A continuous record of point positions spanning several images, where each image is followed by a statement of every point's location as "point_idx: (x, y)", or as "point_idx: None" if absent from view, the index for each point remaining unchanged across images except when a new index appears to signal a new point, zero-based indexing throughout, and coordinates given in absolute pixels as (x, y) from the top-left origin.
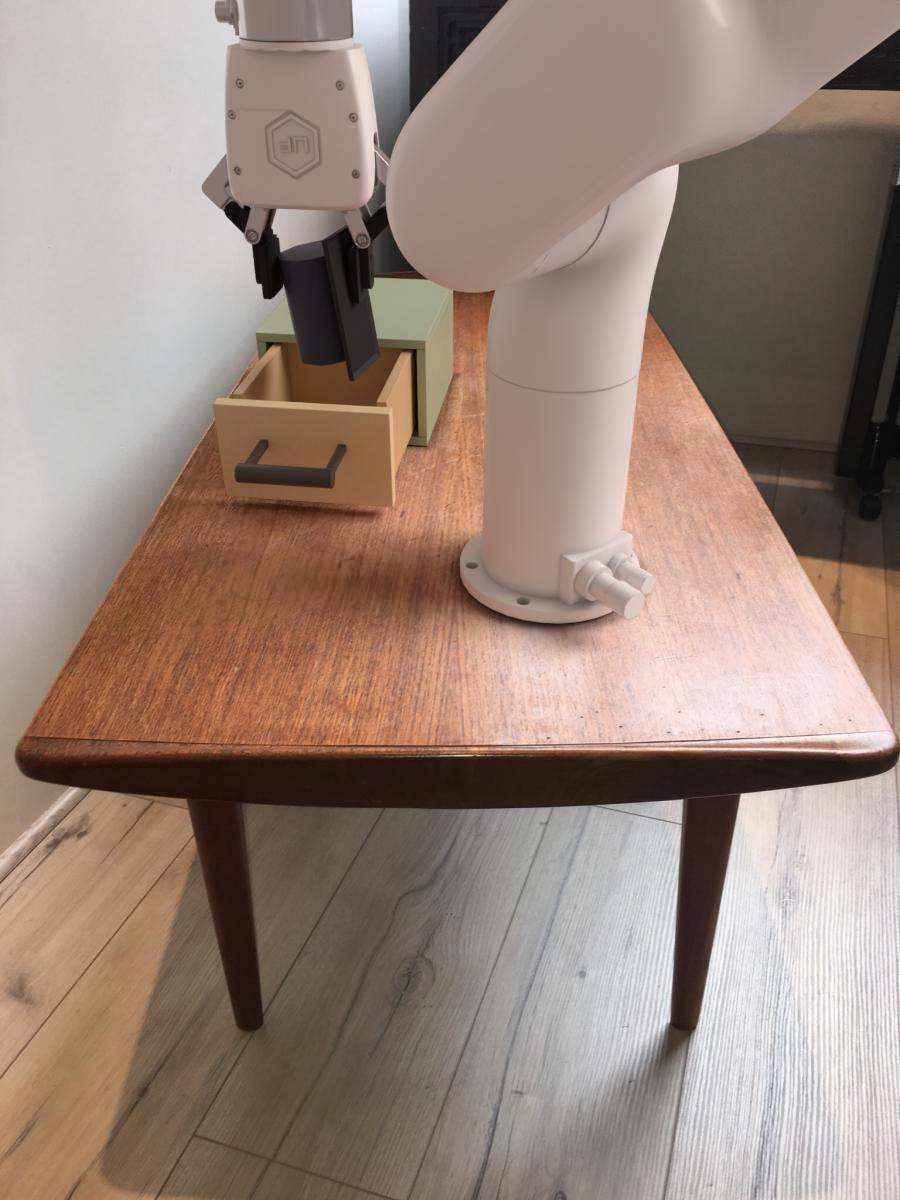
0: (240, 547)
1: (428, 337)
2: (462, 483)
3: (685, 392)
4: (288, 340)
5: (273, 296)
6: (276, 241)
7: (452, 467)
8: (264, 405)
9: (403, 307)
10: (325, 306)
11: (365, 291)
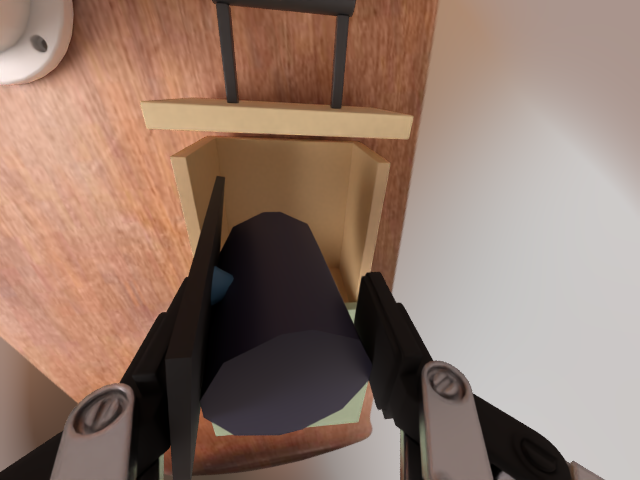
0: None
1: None
2: (154, 180)
3: (30, 358)
4: (347, 304)
5: (361, 279)
6: (380, 395)
7: (176, 210)
8: (340, 116)
9: None
10: (258, 266)
11: None
